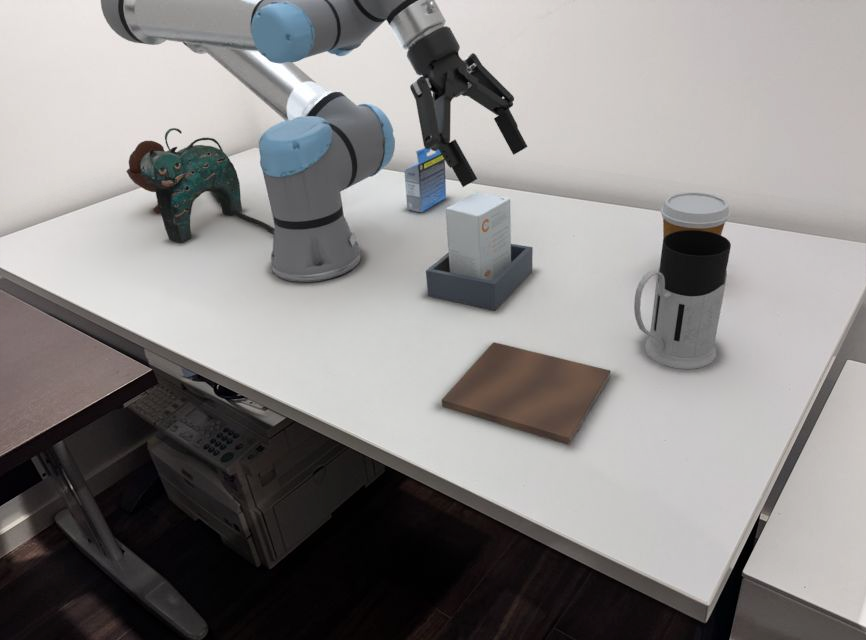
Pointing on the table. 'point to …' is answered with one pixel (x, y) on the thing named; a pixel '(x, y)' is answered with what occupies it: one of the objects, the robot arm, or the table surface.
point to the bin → (479, 281)
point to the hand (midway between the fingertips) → (496, 166)
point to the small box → (479, 235)
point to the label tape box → (425, 181)
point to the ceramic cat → (190, 183)
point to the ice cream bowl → (135, 165)
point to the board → (528, 391)
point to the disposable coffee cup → (694, 213)
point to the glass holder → (686, 299)
